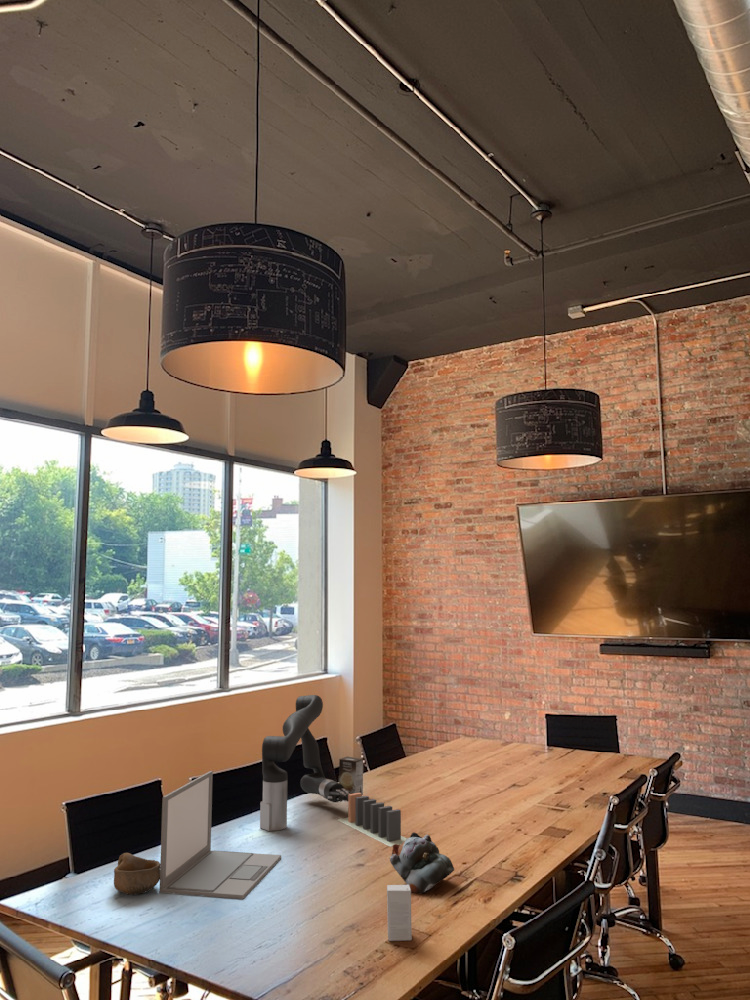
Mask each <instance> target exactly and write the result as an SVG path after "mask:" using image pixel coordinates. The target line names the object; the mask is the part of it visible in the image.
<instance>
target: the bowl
mask: <svg viewBox="0 0 750 1000" xmlns="http://www.w3.org/2000/svg"><path fill="white" fill-rule="evenodd" d="M113 872H114V875H113V886H114V888H115V889H116V890H117V891H119V892H121V893H123V894H127V896H128V895H132V896H134V895H138V894H139V895H140V894H144V893H146V892H149V891H150V890H152V889H154V888H155V887H156V886H157V885H158V883H160V861H158V860H156V859H146V858H143V857H140V856H136V855H133V854H132V853H129V852H123V853H122V854H121V855H119V858H118V861H117V866H116V867H115V868H114V869H113Z"/></svg>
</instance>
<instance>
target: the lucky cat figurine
mask: <svg viewBox="0 0 750 1000" xmlns="http://www.w3.org/2000/svg"><path fill="white" fill-rule="evenodd" d="M406 838H407V839H406V840H405V841H404V842H403V843H402V844H401V845H397V844H394V845H393V846H392V852H391V855H390V857H389V861H390V864H391V865H392V868H393V869H394V870H395V871H396V872H397V874H398V875H399V877H401V879H402V880H403V881H404V883H405V885H409V886H410V889H411V893H414V894H419V895H423V894H424V893H426V892H427V891H429V890H431V889H433V887H434V886H436V885H437V884H438V883H439V882H441V881H443V880H444V879H446V878H448V876H450V875H451V874H452V873H454V872H455V868H454V865H453V862H452V859H450V858H449V857H448V856H447V855H445V854H443V853H440V850H439V847H438V846H437V845H436V844H435V842H433V840H432V838H431V836H430V835H429V834H425V835H424V836H423V837H422V836H420V835H419V834H418V833H416V832H413V831H412V833H411V835H410V836H409V837H406Z"/></svg>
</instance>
